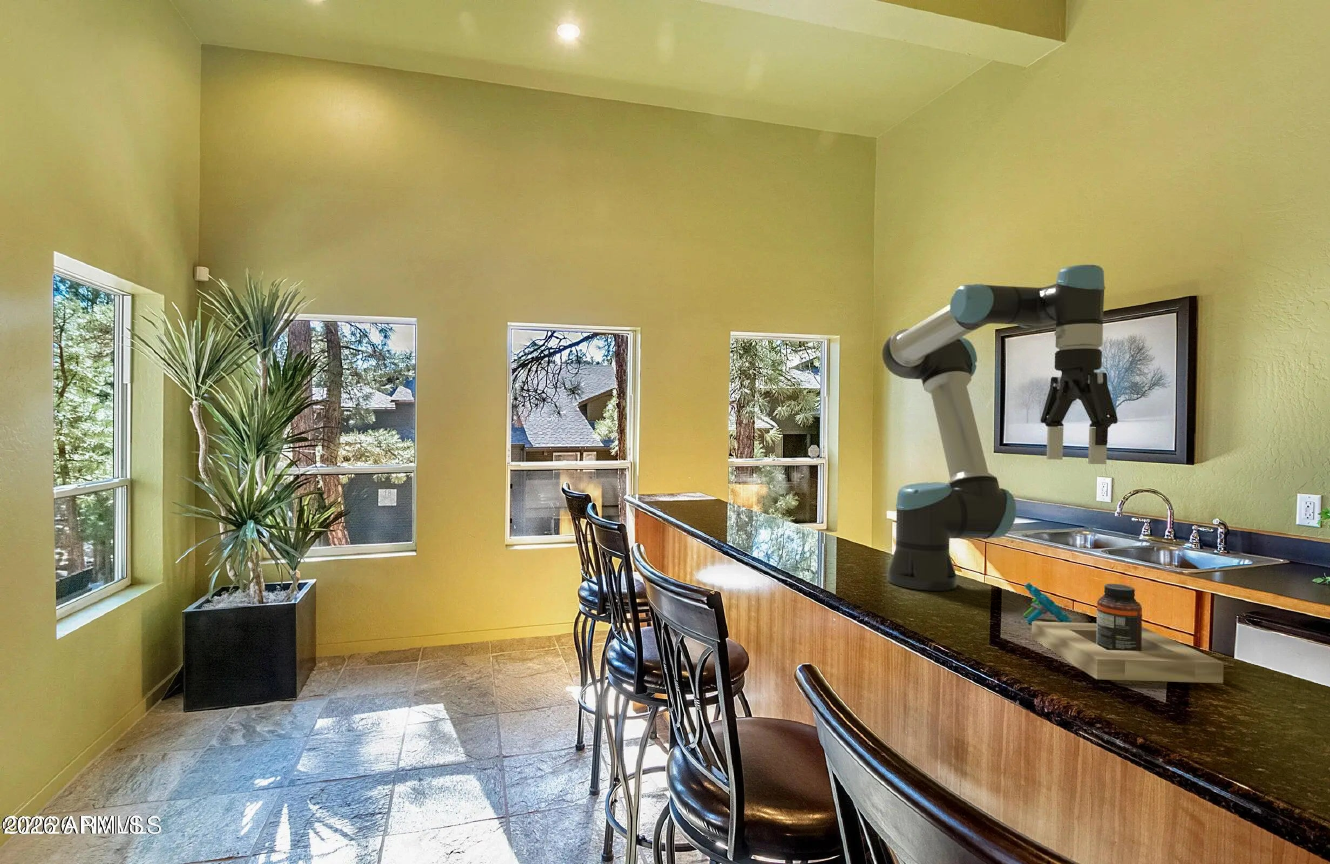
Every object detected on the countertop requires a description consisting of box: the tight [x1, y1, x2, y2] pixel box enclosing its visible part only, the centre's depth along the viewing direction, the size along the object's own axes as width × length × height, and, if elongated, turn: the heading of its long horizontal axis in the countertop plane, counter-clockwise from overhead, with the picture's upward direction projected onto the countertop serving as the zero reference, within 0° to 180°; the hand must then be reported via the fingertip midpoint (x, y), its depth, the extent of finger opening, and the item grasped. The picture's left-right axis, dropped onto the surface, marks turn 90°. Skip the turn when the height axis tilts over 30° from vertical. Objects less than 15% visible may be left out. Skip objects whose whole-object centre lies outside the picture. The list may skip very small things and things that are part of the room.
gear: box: [1022, 582, 1074, 625], centre depth 122 cm, size 11×6×10 cm
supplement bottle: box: [1096, 583, 1143, 651], centre depth 104 cm, size 6×6×11 cm
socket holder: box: [1031, 621, 1225, 684], centre depth 104 cm, size 18×18×3 cm
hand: (1074, 461), depth 123 cm, fingers open, 13 cm apart
